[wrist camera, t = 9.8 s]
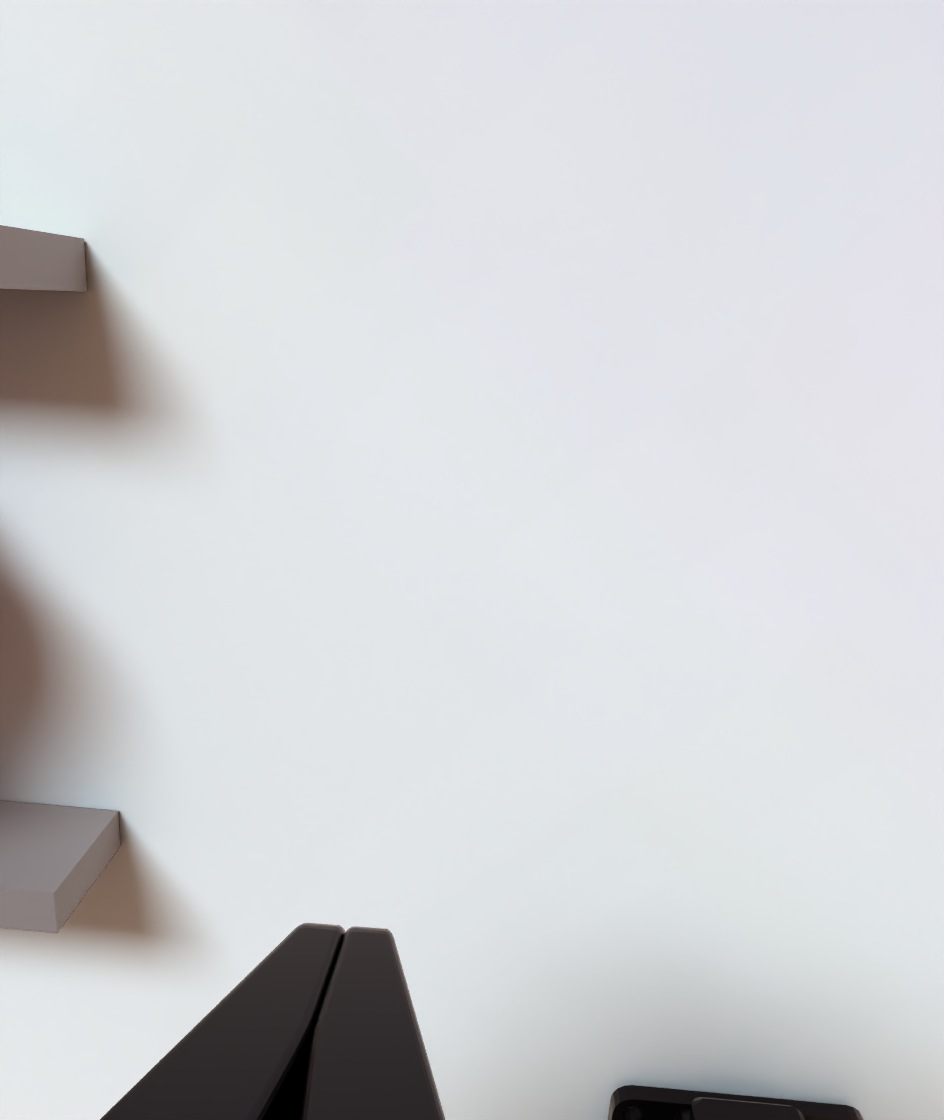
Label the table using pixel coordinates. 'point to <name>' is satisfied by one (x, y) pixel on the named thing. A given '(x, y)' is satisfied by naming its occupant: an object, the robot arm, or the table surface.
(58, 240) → the sorting bay
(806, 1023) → the table surface
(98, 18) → the table surface
